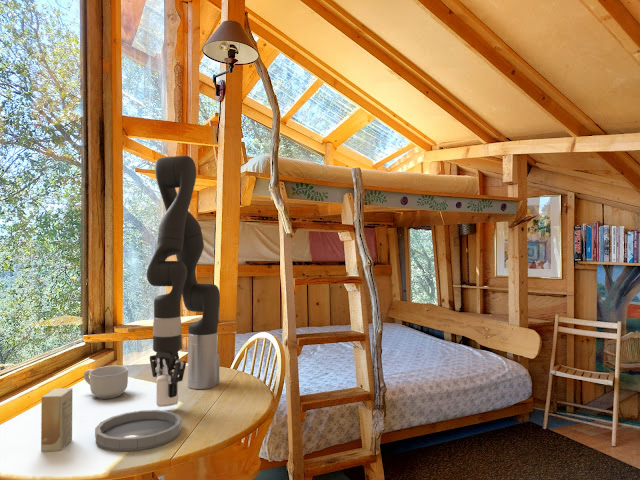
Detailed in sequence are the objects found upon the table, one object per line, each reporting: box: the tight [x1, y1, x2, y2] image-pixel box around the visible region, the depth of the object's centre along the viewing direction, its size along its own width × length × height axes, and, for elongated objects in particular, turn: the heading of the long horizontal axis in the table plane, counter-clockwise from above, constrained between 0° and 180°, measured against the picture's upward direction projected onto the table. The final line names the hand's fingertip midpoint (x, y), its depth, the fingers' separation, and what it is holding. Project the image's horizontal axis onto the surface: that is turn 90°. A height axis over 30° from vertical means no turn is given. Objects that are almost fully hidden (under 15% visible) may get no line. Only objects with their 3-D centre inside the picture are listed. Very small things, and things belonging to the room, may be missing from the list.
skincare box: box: [40, 387, 73, 452], centre depth 108 cm, size 6×4×12 cm
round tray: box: [94, 409, 183, 453], centre depth 114 cm, size 19×19×3 cm
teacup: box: [83, 365, 129, 400], centre depth 145 cm, size 14×11×8 cm
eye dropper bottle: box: [155, 367, 179, 408], centre depth 132 cm, size 4×6×12 cm
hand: (167, 394), depth 132 cm, fingers closed on eye dropper bottle, 4 cm apart
